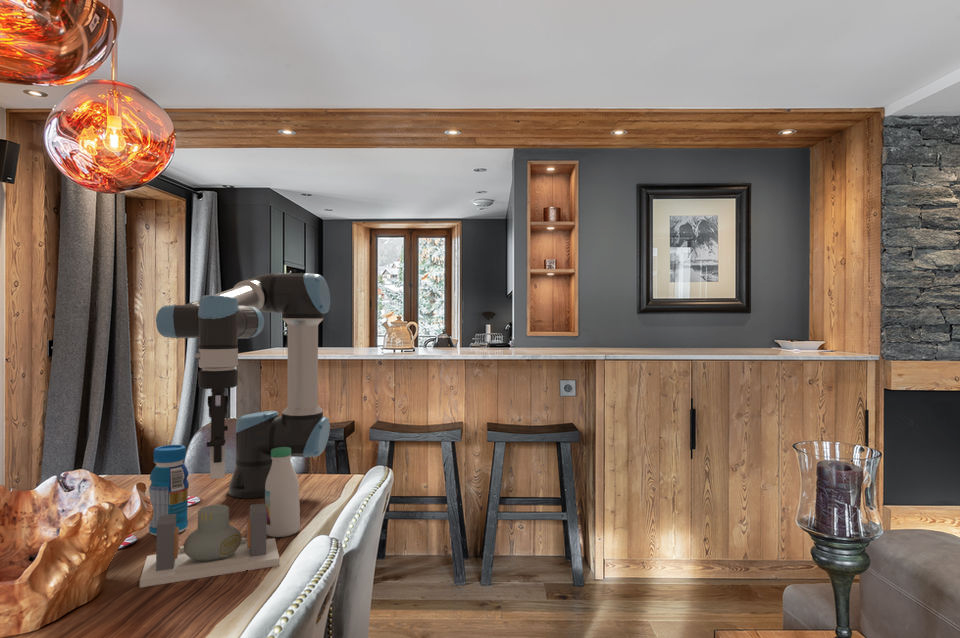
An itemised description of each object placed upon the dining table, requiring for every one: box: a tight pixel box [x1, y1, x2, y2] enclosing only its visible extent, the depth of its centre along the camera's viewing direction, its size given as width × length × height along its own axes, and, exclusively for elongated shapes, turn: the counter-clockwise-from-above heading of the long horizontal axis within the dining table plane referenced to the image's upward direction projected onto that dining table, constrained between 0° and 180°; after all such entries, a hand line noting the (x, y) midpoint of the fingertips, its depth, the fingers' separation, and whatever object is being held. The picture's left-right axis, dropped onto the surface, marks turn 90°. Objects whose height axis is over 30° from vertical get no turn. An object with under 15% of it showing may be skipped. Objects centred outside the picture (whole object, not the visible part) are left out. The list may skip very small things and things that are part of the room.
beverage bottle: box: [148, 444, 190, 537], centre depth 137 cm, size 8×8×20 cm
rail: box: [139, 502, 281, 588], centre depth 118 cm, size 12×25×10 cm, turn 114°
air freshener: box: [183, 504, 243, 562], centre depth 118 cm, size 11×8×10 cm
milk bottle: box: [264, 447, 301, 538], centre depth 136 cm, size 8×8×20 cm
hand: (217, 469), depth 120 cm, fingers open, 13 cm apart
